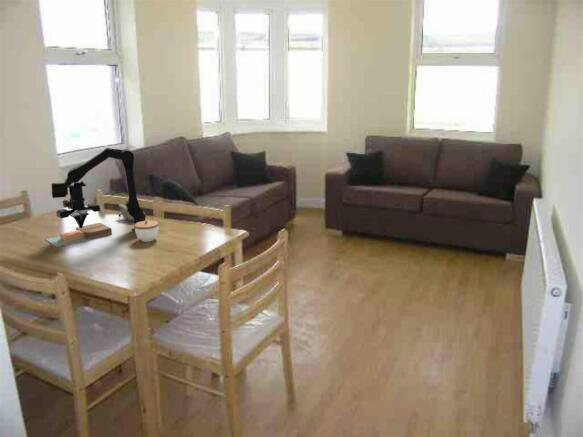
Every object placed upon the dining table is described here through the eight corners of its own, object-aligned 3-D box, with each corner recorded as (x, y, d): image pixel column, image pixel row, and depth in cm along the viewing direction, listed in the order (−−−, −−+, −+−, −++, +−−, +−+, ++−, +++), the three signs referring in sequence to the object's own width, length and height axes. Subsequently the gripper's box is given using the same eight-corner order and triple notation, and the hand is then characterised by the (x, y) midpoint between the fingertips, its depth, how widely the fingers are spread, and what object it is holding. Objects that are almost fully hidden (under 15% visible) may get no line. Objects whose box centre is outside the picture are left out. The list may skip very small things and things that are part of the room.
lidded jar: (135, 244, 245) (133, 224, 243) (135, 237, 255) (133, 218, 252) (160, 242, 248) (158, 222, 245) (159, 235, 258) (157, 216, 255)
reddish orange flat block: (84, 237, 254) (84, 232, 254) (65, 242, 249) (64, 236, 248) (79, 234, 259) (78, 229, 258) (60, 239, 253) (59, 234, 252)
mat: (87, 240, 252) (87, 239, 252) (56, 247, 243) (56, 246, 243) (75, 233, 262) (75, 232, 262) (45, 239, 253) (45, 239, 253)
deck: (112, 234, 260) (111, 228, 259) (87, 239, 252) (86, 233, 252) (100, 228, 269) (100, 222, 269) (76, 233, 262) (75, 227, 261)
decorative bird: (133, 224, 277) (132, 210, 275) (116, 218, 287) (115, 205, 285) (142, 221, 280) (141, 207, 278) (125, 216, 291) (124, 203, 289)
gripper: (89, 189, 263) (93, 220, 268) (50, 196, 251) (54, 228, 256) (99, 193, 255) (102, 225, 260) (58, 200, 243) (63, 233, 248)
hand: (80, 228), depth 256 cm, fingers closed
